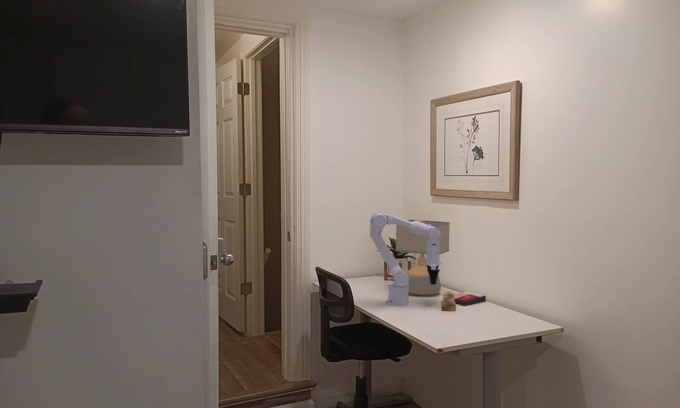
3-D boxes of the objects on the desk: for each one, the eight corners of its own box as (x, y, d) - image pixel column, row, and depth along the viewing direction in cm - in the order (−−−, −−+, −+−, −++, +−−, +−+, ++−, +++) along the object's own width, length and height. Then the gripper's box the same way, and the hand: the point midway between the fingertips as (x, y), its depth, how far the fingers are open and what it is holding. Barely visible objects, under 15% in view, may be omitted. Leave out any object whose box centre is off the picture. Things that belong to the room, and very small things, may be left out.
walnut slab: (441, 310, 224) (441, 304, 224) (440, 307, 230) (441, 300, 230) (455, 311, 224) (455, 304, 223) (454, 307, 229) (454, 301, 229)
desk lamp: (449, 292, 261) (450, 220, 259) (434, 300, 245) (436, 223, 243) (409, 286, 273) (411, 217, 270) (393, 293, 257) (394, 220, 254)
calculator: (446, 295, 241) (467, 289, 250) (446, 304, 241) (467, 298, 250) (464, 300, 232) (486, 294, 241) (464, 309, 233) (486, 303, 241)
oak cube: (443, 303, 225) (443, 293, 224) (443, 301, 229) (443, 291, 229) (454, 304, 224) (454, 293, 224) (453, 301, 229) (453, 291, 228)
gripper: (442, 255, 227) (442, 286, 228) (440, 250, 242) (441, 279, 243) (426, 255, 228) (426, 285, 229) (425, 250, 243) (425, 278, 244)
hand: (432, 282), depth 236 cm, fingers open, 7 cm apart
